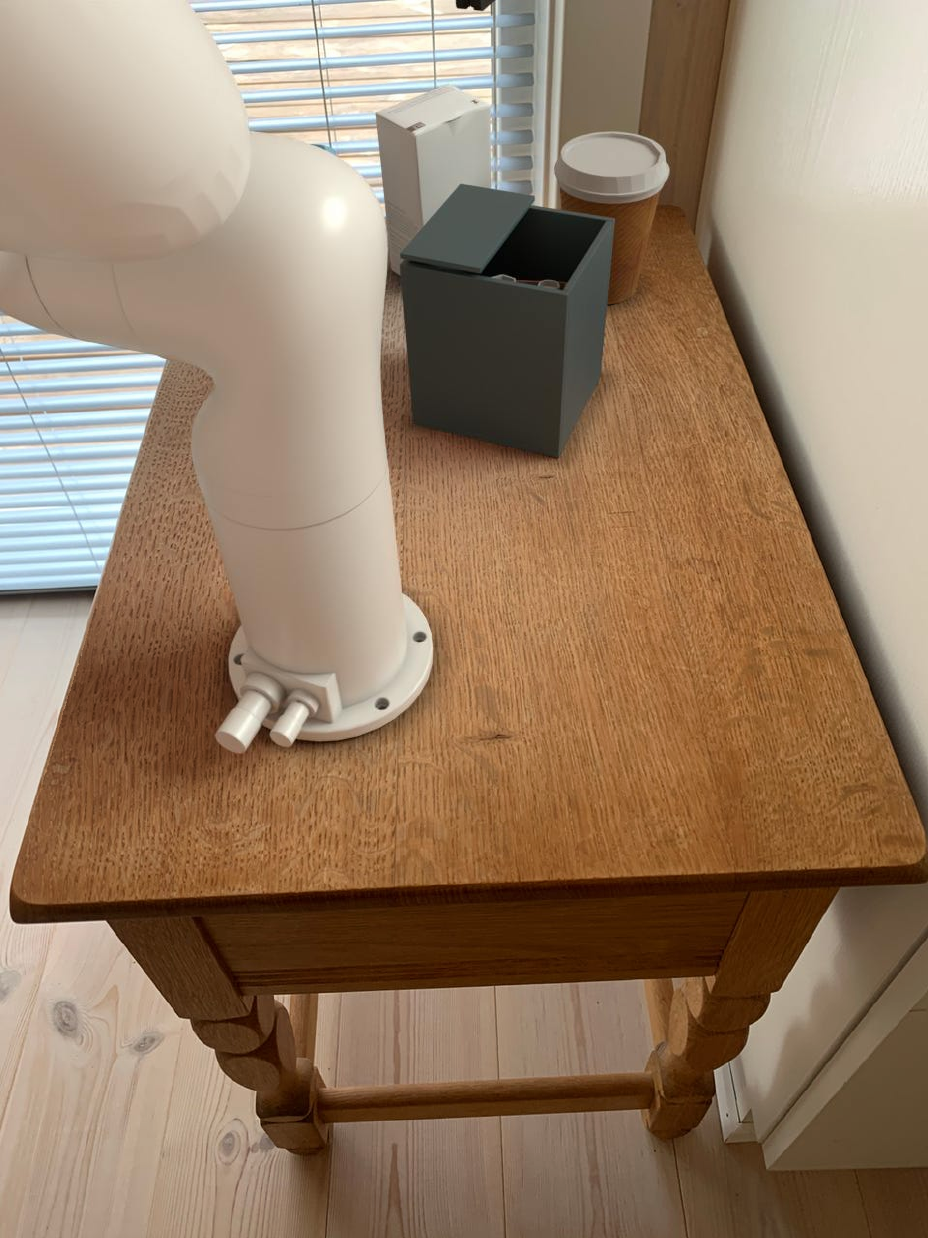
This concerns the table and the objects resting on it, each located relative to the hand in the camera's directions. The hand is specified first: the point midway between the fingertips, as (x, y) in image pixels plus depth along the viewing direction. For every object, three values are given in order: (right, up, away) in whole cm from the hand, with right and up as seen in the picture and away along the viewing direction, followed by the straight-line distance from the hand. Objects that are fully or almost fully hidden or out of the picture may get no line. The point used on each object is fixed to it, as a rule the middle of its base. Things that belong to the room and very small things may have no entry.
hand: (478, 1), depth 58 cm
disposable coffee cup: (+12, -6, +32) cm, 34 cm away
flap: (0, -9, +11) cm, 14 cm away
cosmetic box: (-3, -4, +35) cm, 35 cm away
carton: (+3, -19, +21) cm, 28 cm away
